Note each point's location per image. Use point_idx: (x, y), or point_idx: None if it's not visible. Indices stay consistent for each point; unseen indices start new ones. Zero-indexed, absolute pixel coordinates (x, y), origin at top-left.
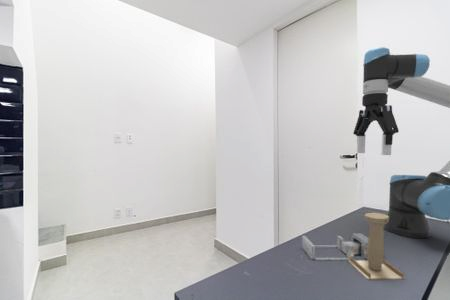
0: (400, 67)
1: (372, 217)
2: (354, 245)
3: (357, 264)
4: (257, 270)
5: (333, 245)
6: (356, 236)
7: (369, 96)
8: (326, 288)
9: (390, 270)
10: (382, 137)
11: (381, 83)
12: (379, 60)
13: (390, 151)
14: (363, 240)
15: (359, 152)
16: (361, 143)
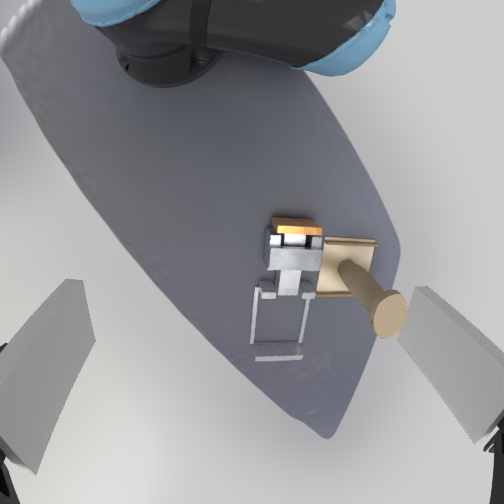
0: None
1: (395, 331)
2: (299, 279)
3: (339, 296)
4: (309, 403)
5: (255, 292)
6: (285, 269)
7: None
8: (361, 348)
9: (355, 246)
10: (468, 429)
11: None
12: None
13: (441, 304)
14: (308, 268)
15: (89, 331)
16: (48, 378)
